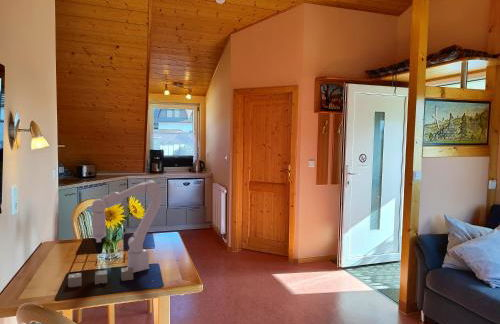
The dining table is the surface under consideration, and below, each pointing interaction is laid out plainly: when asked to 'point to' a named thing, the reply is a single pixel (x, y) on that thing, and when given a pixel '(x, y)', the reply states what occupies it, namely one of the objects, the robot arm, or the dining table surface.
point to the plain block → (100, 277)
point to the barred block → (127, 273)
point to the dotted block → (74, 280)
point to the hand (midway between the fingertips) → (99, 253)
